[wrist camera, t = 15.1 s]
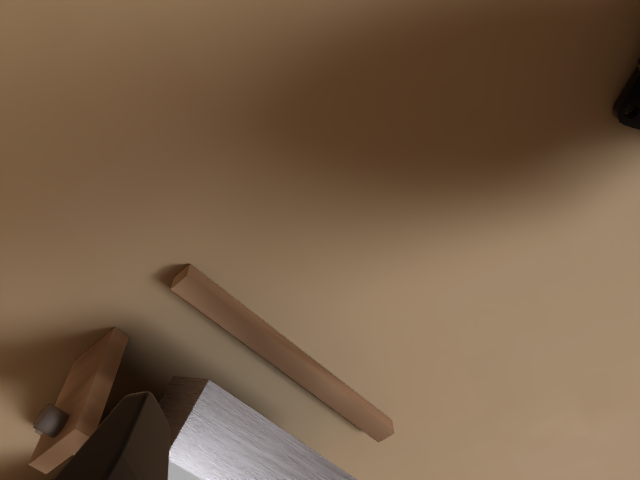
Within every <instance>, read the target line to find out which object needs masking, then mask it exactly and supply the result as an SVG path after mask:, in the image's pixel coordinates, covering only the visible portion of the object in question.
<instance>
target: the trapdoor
mask: <svg viewBox="0 0 640 480" xmlns="http://www.w3.org/2000/svg"><path fill="white" fill-rule="evenodd" d="M158 404H159V406H160V408H161V410H162V411H163V413H164V415H165V417H166V419H167V421H168V424H169V427H170V449H169V468H168V480H357V479H355V478H354V477H352V476H351V475H349V474H348V473H346V472H345V471H343V470H342V469H340V468H339V467H337V466H336V465H334V464H333V463H331V462H330V461H329V460H327V459H326V458H324V457H323V456H321V455H320V454H318V453H317V452H315V451H314V450H312V449H311V448H309V447H308V446H306V445H305V444H303V443H302V442H300V441H299V440H298V439H296V438H295V437H293V436H292V435H290V434H289V433H287V432H286V431H284V430H283V429H281V428H280V427H278V426H277V425H275V424H274V423H272V422H271V421H270V420H268V419H267V418H265V417H264V416H262V415H261V414H259V413H258V412H256V411H255V410H253V409H252V408H250V407H249V406H247V405H246V404H244V403H243V402H242V401H240V400H239V399H237V398H236V397H234V396H233V395H231V394H230V393H228V392H227V391H225V390H224V389H222V388H221V387H219V386H218V385H216V384H215V383H214V382H212V381H211V380H208V379H198V378H187V377H176V376H174V377H173V379H172V381H171V382H170V384H169V386H168V387H167V389H166V391H165V393H164V394H163V396H162V398H161V399H160V401H159V403H158ZM35 432H36V433H38V434H40V435H42V432H41V431H39V430H37V429H36V431H35ZM74 454H75V453H74ZM74 454H73V455H74Z"/></svg>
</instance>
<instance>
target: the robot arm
mask: <svg viewBox="0 0 640 480" xmlns="http://www.w3.org/2000/svg"><path fill="white" fill-rule="evenodd" d="M631 105H634V109H633V110H632V111H631V112H630V113H628V114H624V113H625V110H626V109H627V108H628V107H629V106H631ZM613 115H614V117H615V118H616V119H617V120H618V121H619V122H620V123H622V124H624V125H626V126H630V127H633V128H636V129H639V130H640V58H639V60H638V66H637V68H636V70H635V71H634V73H633V74H632V76H631V78H630V79H629V81H628V83H627V84H626V86H625V87H624V89H623V91H622V92H621V94H620V95H619V97H618V99H617V100H616V102H615V104H614V106H613ZM169 449H170V427H169V424H168V421H167V419H166V417H165V415H164V413H163V411H162V410H161V408H160V406H159V404H158V402H157V400H156V399H155V397H154V395H153V394H152V393H151V392H147V391H145V392H139V393H133V394H129V395H126V396H125V397H124V398H123V399H122V400H121V401H120V402H119V403H118V404H117V406H116V407H115V408H114V409H113V410H112V411H111V413H110V414H109V415H108V416H107V417H106V418H105V420H104V421H103V422H102V423H101V424H100V425H99V427H98V428H97V429H96V430H95V431H94V432H93V433H92V435H91V436H90V437H89V438H88V439H87V440H86V442H85V443H84V444H83V445H82V446H81V447H80V449H79V450H78V451H77V452H76V453H75V454H74V456H73V457H72V458H71V459H70V460H69V461H68V463H67V464H66V465H65V466H64V467H63V468H62V470H61V471H60V472H59V473H58V474H57V475H56V477H55V478H54V479H53V480H168V468H169Z"/></svg>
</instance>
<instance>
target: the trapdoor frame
mask: <svg viewBox="0 0 640 480" xmlns="http://www.w3.org/2000/svg"><path fill="white" fill-rule="evenodd" d="M171 290H172V291H174V292H175V293H176V294H178V295H179V296H180V297H182V298H183V299H185V300H186V301H187V302H189V303H190V304H191V305H193V306H194V307H195V308H197V309H198V310H199V311H201V312H202V313H204V314H205V315H206V316H208V317H209V318H210V319H212V320H213V321H214V322H216V323H217V324H218V325H220V326H221V327H223V328H224V329H225V330H227V331H228V332H229V333H231V334H232V335H233V336H235V337H236V338H237V339H239V340H240V341H241V342H243V343H244V344H246V345H247V346H248V347H250V348H251V349H252V350H254V351H255V352H256V353H258V354H259V355H260V356H262V357H263V358H265V359H266V360H267V361H269V362H270V363H271V364H273V365H274V366H275V367H277V368H278V369H279V370H281V371H282V372H284V373H285V374H286V375H288V376H289V377H290V378H292V379H293V380H294V381H296V382H297V383H298V384H300V385H301V386H303V387H304V388H305V389H307V390H308V391H309V392H311V393H312V394H313V395H315V396H316V397H317V398H319V399H320V400H322V401H323V402H324V403H326V404H327V405H328V406H330V407H331V408H332V409H334V410H335V411H336V412H338V413H339V414H341V415H342V416H343V417H345V418H346V419H347V420H349V421H350V422H351V423H353V424H354V425H355V426H357V427H358V428H360V429H361V430H362V431H364V432H365V433H366V434H368V435H369V436H370V437H372V438H373V439H374V440H376V441H377V442H380V441H382V440H384V439H385V438H387V437H389V436H391V435H392V434H394V429H393V423H392V420H391V419H390V418H388V417H387V416H386V415H384V414H383V413H382V412H381V411H379V410H378V409H377V408H375V407H374V406H373V405H372V404H370V403H369V402H368V401H366V400H365V399H364V398H363V397H361V396H360V395H359V394H357V393H356V392H355V391H354V390H352V389H351V388H350V387H348V386H347V385H346V384H344V383H343V382H342V381H341V380H339V379H338V378H337V377H335V376H334V375H333V374H332V373H330V372H329V371H328V370H326V369H325V368H324V367H323V366H321V365H320V364H319V363H317V362H316V361H315V360H313V359H312V358H311V357H310V356H308V355H307V354H306V353H304V352H303V351H302V350H301V349H299V348H298V347H297V346H295V345H294V344H293V343H292V342H290V341H289V340H288V339H286V338H285V337H284V336H282V335H281V334H280V333H279V332H277V331H276V330H275V329H273V328H272V327H271V326H270V325H268V324H267V323H266V322H264V321H263V320H262V319H261V318H259V317H258V316H257V315H255V314H254V313H253V312H251V311H250V310H249V309H248V308H246V307H245V306H244V305H242V304H241V303H240V302H239V301H237V300H236V299H235V298H233V297H232V296H231V295H230V294H228V293H227V292H226V291H224V290H223V289H222V288H220V287H219V286H218V285H217V284H215V283H214V282H213V281H211V280H210V279H209V278H208V277H206V276H205V275H204V274H202V273H201V272H200V271H199V270H197V269H196V268H195V267H193V266H192V265H191V264H189V265H188V266H187V267H186V268H185V269H183V270H182V271H181V272H180V273H179V274H177V275H176V276H175V277H174V279H173V283H172V286H171ZM128 339H129V336H128V335H126V334H125V333H123V332H122V331H120V330H119V329H117V328H116V327H114V328H113V329H112V330H110V331H109V332H108V333H107V334H106V335H104V336H103V337H102V338H101V339H100V340H98V341H97V342H96V343H95V344H94V345H92V346H91V347H90V348H89V349H88V350H86V351H85V352H84V353H83V354H82V355H80V356H79V357H78V358H77V359H76V360H74V362H73V364H72V367H71V369H70V371H69V374H68V376H67V378H66V380H65V383H64V385H63V387H62V389H61V392H60V394H59V396H58V399H57V401H56V403H55V405H52V404H48V405H47V406H46V407H45V408H44V409H43V410H42V411H41V412H40V414H39V415H38V417H37V418H36V420H35V422H34V425H33V428H35V429H37V430H39V431H41V432H42V435H41V437H40V439H39V442H38V444H37V446H36V449H35V451H34V453H33V455H32V458H31V460H30V462H29V464H28V465H29V466H31V467H33V468H35V469H37V470H39V471H41V472H43V473H45V474H47V473H49V472H50V471H51V470H53V469H54V468H55V467H57V466H58V465H60V464H61V463H62V462H64V461H65V460H66V459H68V458H69V457H70V456H72V455H73V454H74V453H76V452H77V451H78V450H79V449H80V447H81V446H82V445H83V444H84V443H85V442H86V440H87V439H88V438H89V437H90V436H91V435H92V433H93V432H94V431H95V430H96V429H97V428H98V425H99V422H100V419H101V416H102V413H103V411H104V408H105V405H106V402H107V399H108V396H109V393H110V391H111V388H112V385H113V382H114V379H115V376H116V373H117V370H118V368H119V365H120V362H121V359H122V356H123V353H124V350H125V348H126V345H127V342H128Z"/></svg>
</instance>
